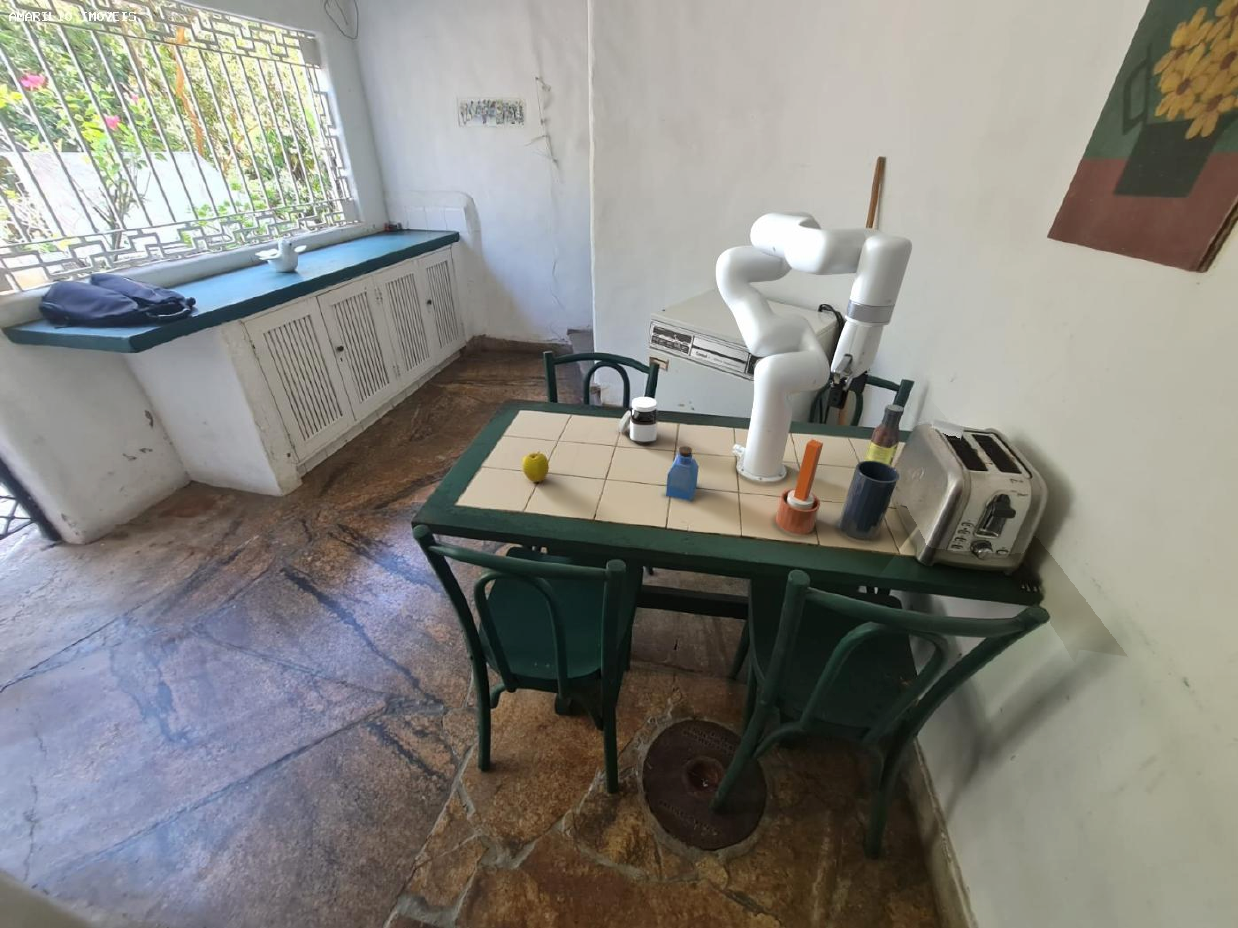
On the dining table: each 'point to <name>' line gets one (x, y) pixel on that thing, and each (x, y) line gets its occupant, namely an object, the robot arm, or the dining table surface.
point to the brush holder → (796, 516)
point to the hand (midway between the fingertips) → (845, 398)
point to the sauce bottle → (886, 436)
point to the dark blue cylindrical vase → (868, 500)
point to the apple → (535, 466)
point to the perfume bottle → (682, 475)
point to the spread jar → (641, 420)
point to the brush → (806, 478)
